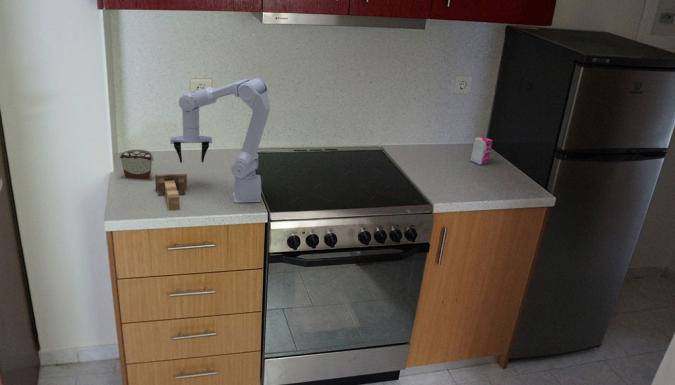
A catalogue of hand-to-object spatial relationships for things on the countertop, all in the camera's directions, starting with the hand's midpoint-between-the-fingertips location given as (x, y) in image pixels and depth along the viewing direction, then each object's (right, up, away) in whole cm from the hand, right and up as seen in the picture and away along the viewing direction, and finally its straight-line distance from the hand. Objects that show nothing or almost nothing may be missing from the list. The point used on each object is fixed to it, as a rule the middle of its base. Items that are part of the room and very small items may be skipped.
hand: (191, 161), depth 219 cm
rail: (-5, -15, -8) cm, 17 cm away
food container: (-22, -6, +8) cm, 24 cm away
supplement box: (+118, +2, +52) cm, 128 cm away
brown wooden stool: (-7, -12, -3) cm, 14 cm away
